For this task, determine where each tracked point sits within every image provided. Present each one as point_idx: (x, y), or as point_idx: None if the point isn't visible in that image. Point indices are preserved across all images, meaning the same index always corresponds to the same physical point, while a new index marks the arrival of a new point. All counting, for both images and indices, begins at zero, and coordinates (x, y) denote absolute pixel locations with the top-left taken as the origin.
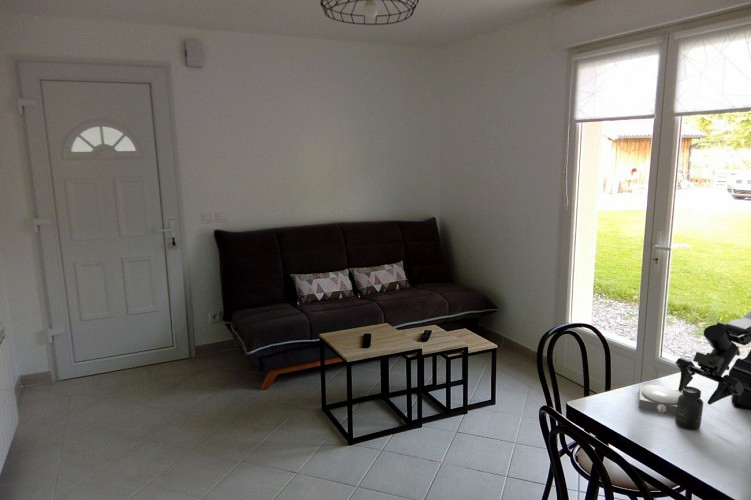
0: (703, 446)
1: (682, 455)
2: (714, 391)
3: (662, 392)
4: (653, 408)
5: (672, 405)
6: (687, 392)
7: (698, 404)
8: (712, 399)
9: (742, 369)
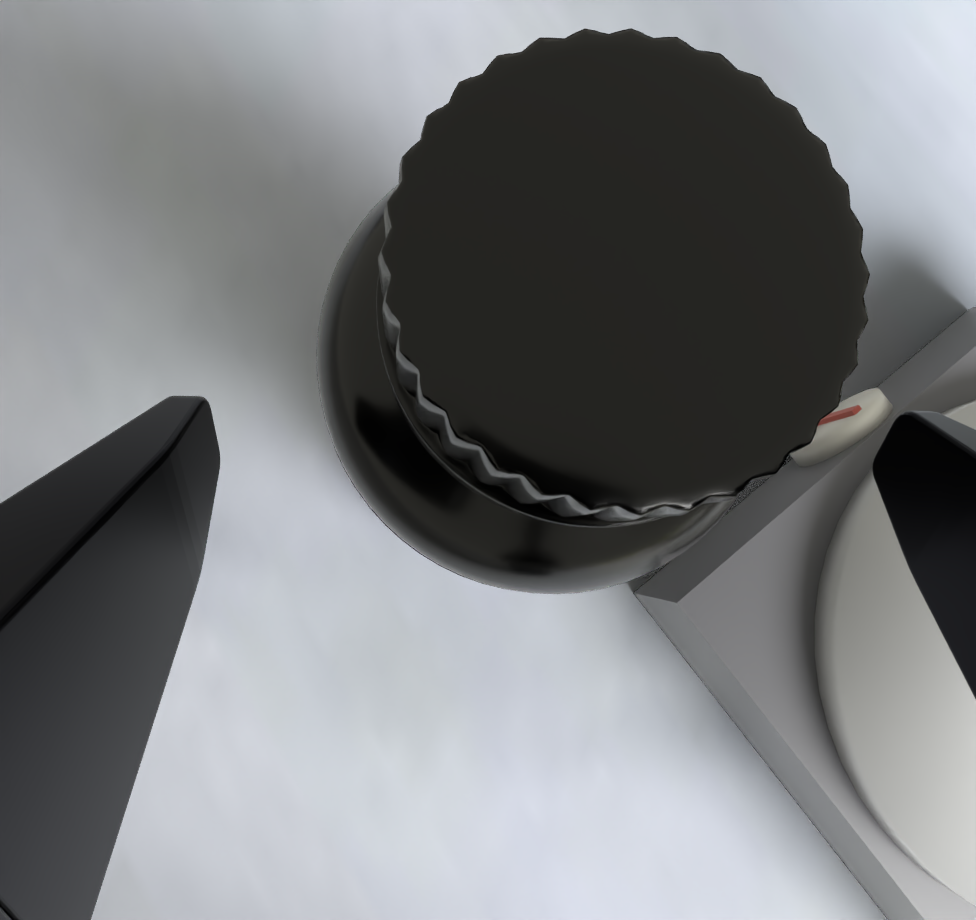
0: (124, 172)
1: None
2: (3, 625)
3: None
4: (888, 389)
5: (799, 509)
6: (603, 61)
7: (336, 276)
8: (80, 462)
9: None
